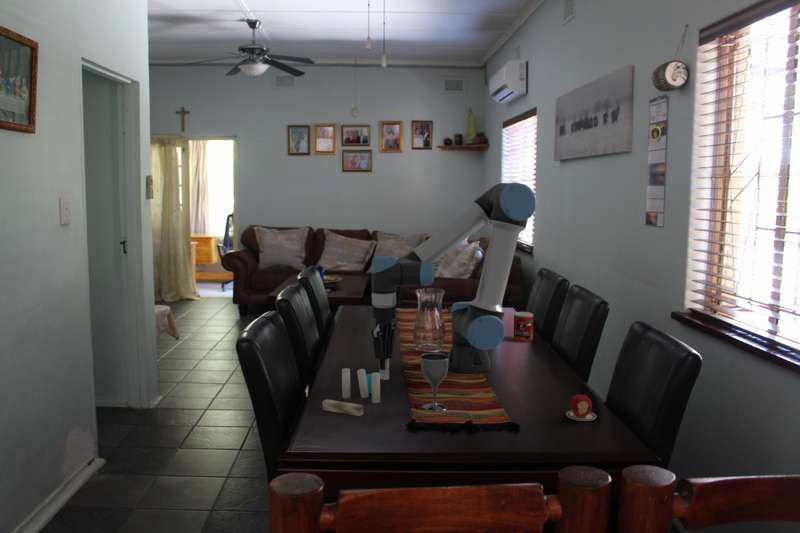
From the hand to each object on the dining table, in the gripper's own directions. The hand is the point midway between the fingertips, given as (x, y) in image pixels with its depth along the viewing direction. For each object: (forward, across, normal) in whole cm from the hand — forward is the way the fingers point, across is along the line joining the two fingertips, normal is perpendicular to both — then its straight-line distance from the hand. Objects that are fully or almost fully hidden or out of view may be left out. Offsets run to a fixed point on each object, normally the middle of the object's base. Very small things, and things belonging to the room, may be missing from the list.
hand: (384, 378), depth 206 cm
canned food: (+2, -77, +24) cm, 81 cm away
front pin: (+2, +13, 0) cm, 13 cm away
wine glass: (+2, +13, +23) cm, 26 cm away
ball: (-1, +9, 0) cm, 9 cm away
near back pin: (+2, +16, +5) cm, 16 cm away
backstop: (+2, +27, +1) cm, 27 cm away
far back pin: (+2, +16, -5) cm, 16 cm away
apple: (+2, +3, +62) cm, 62 cm away
